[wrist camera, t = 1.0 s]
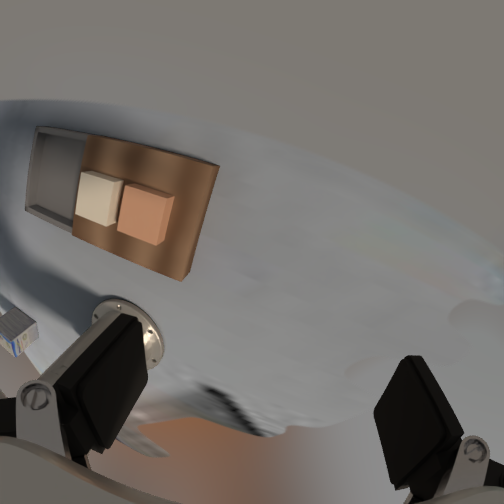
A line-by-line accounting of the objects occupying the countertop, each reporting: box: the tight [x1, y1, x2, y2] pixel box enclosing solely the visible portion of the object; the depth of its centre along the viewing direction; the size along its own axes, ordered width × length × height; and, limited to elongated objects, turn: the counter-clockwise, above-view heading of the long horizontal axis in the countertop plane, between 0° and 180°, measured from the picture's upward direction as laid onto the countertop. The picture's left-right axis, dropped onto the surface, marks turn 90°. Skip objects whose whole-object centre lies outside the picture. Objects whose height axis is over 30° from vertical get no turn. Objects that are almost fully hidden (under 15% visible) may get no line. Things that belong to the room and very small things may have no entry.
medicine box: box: [0, 307, 39, 357], centre depth 38 cm, size 8×4×9 cm, turn 73°
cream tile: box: [75, 171, 124, 227], centre depth 27 cm, size 5×5×2 cm
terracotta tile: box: [117, 183, 175, 246], centre depth 27 cm, size 5×5×2 cm
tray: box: [25, 126, 93, 233], centre depth 30 cm, size 12×13×2 cm
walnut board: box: [72, 135, 220, 282], centre depth 29 cm, size 16×13×3 cm
